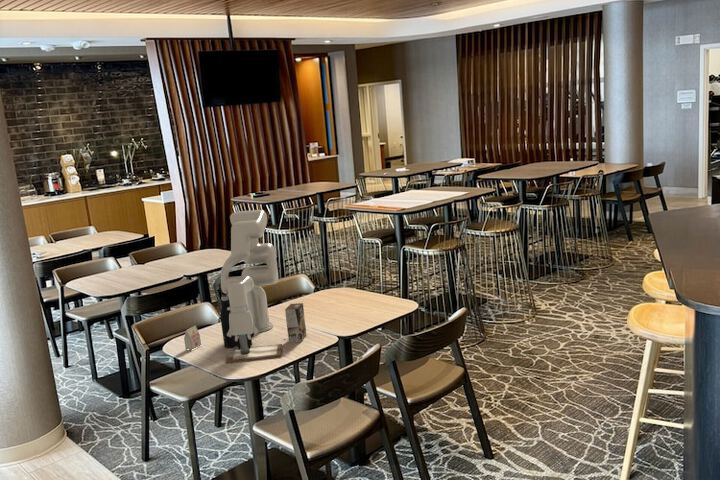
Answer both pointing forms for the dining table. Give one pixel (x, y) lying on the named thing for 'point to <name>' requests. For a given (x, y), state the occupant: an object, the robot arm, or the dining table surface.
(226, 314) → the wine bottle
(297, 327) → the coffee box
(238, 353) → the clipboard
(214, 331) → the dining table surface
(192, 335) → the red and white box
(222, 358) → the dining table surface
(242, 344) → the marker
